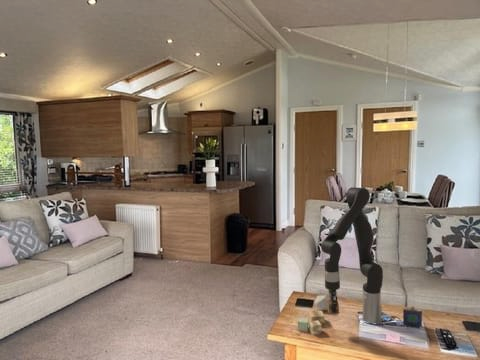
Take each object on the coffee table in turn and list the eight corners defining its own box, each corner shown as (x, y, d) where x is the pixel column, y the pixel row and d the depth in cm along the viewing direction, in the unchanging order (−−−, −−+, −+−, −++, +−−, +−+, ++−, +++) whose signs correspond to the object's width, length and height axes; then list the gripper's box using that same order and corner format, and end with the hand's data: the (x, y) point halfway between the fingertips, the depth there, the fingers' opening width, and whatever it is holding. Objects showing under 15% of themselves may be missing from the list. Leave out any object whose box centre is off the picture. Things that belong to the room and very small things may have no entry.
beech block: (318, 329, 194) (317, 320, 193) (321, 334, 189) (321, 324, 188) (309, 330, 193) (308, 321, 192) (312, 335, 188) (312, 325, 188)
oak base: (321, 319, 205) (321, 310, 204) (324, 325, 198) (324, 316, 198) (309, 319, 205) (309, 311, 205) (311, 325, 198) (311, 316, 198)
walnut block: (337, 309, 192) (337, 299, 191) (338, 313, 187) (338, 304, 186) (327, 309, 192) (327, 300, 192) (329, 313, 187) (328, 304, 187)
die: (327, 315, 211) (334, 299, 213) (313, 307, 212) (321, 291, 214) (324, 314, 219) (331, 298, 221) (310, 306, 220) (318, 291, 222)
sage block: (308, 327, 196) (308, 318, 196) (307, 331, 191) (307, 322, 191) (299, 326, 198) (299, 317, 197) (297, 330, 193) (297, 321, 192)
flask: (421, 325, 195) (421, 306, 194) (422, 328, 192) (422, 308, 191) (402, 323, 197) (402, 304, 196) (403, 326, 194) (403, 306, 193)
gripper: (342, 284, 181) (343, 316, 182) (337, 273, 195) (338, 304, 196) (326, 284, 181) (327, 317, 183) (322, 274, 195) (324, 304, 197)
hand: (333, 310), depth 190 cm, fingers closed on walnut block, 5 cm apart
